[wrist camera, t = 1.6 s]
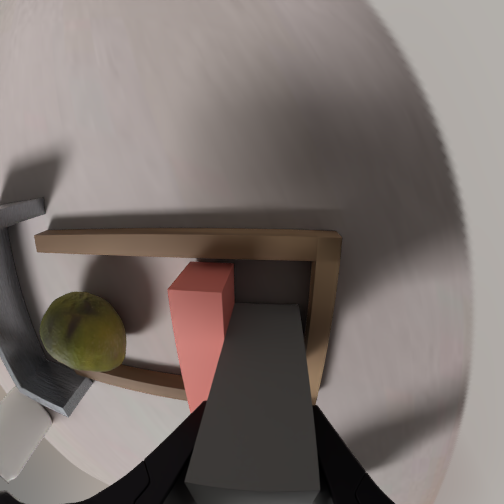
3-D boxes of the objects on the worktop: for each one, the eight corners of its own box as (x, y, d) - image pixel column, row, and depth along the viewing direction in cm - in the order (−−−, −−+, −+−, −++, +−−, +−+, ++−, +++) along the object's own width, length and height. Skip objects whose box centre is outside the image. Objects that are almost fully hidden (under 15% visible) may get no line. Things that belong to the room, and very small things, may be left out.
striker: (290, 380, 14) (293, 529, 6) (203, 375, 14) (158, 514, 6) (301, 264, 12) (341, 450, 3) (190, 261, 12) (75, 411, 4)
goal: (92, 383, 17) (68, 417, 13) (43, 365, 17) (19, 392, 13) (43, 197, 12) (-6, 210, 8) (-2, 205, 13) (-42, 218, 9)
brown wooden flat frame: (312, 393, 15) (314, 408, 14) (84, 364, 16) (76, 374, 15) (335, 231, 12) (342, 237, 11) (47, 230, 13) (34, 235, 12)
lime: (149, 340, 14) (111, 399, 10) (92, 343, 15) (52, 390, 10) (119, 270, 13) (62, 315, 8) (64, 283, 14) (11, 320, 9)
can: (14, 375, 19) (-40, 436, 8) (54, 413, 20) (7, 483, 8) (16, 397, 21) (-26, 450, 9) (53, 429, 22) (14, 488, 10)
